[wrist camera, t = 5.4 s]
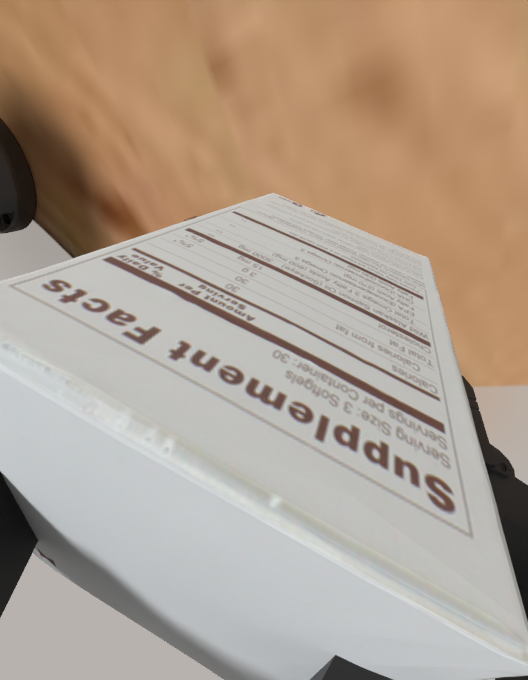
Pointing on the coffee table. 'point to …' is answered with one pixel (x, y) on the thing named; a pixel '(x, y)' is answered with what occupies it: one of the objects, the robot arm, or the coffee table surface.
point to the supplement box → (260, 449)
